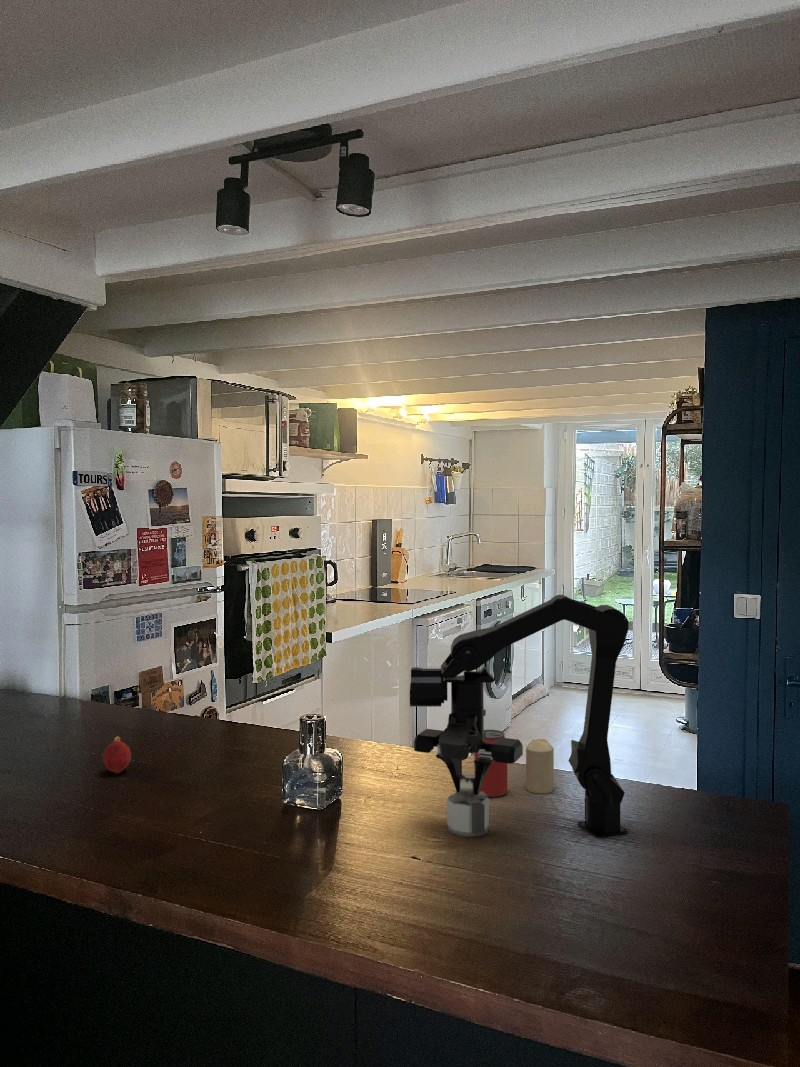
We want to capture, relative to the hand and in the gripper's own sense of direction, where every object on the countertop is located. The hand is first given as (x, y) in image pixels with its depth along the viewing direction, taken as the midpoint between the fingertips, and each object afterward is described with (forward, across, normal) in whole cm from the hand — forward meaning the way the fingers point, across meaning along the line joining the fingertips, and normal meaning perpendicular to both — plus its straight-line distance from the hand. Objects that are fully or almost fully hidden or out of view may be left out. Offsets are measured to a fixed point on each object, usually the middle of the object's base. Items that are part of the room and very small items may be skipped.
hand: (467, 793), depth 146 cm
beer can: (+7, -2, +19) cm, 20 cm away
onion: (+7, -80, -2) cm, 80 cm away
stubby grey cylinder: (+5, 0, 0) cm, 5 cm away
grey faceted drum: (+6, 0, 0) cm, 6 cm away
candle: (+7, +6, +25) cm, 26 cm away
